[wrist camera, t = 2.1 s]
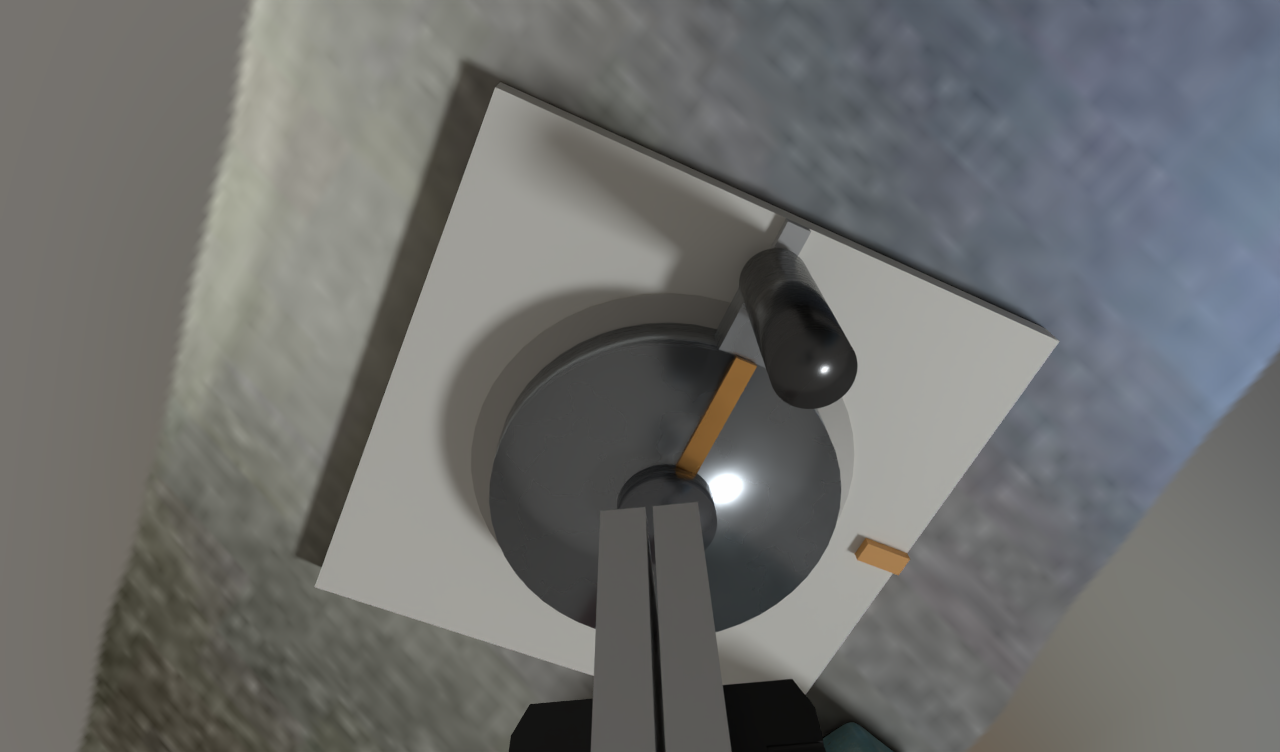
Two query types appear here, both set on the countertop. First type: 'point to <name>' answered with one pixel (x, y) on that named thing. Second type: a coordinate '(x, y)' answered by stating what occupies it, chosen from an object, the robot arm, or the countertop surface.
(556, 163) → the panel
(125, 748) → the countertop surface
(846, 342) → the dial
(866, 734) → the flower pot
